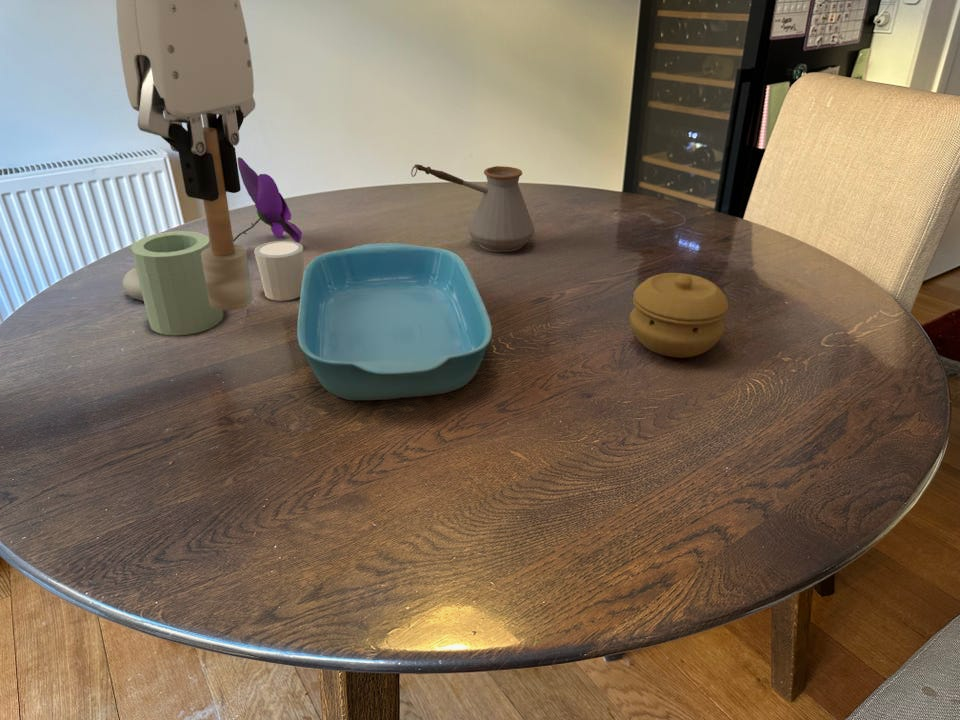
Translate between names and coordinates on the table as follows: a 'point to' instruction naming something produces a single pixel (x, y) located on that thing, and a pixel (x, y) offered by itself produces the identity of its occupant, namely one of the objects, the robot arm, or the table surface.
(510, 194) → the coffee pot
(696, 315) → the pot
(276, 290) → the white cup
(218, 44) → the robot arm
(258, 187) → the flower
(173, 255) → the jar
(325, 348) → the casserole dish
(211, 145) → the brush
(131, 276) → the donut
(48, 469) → the table surface
